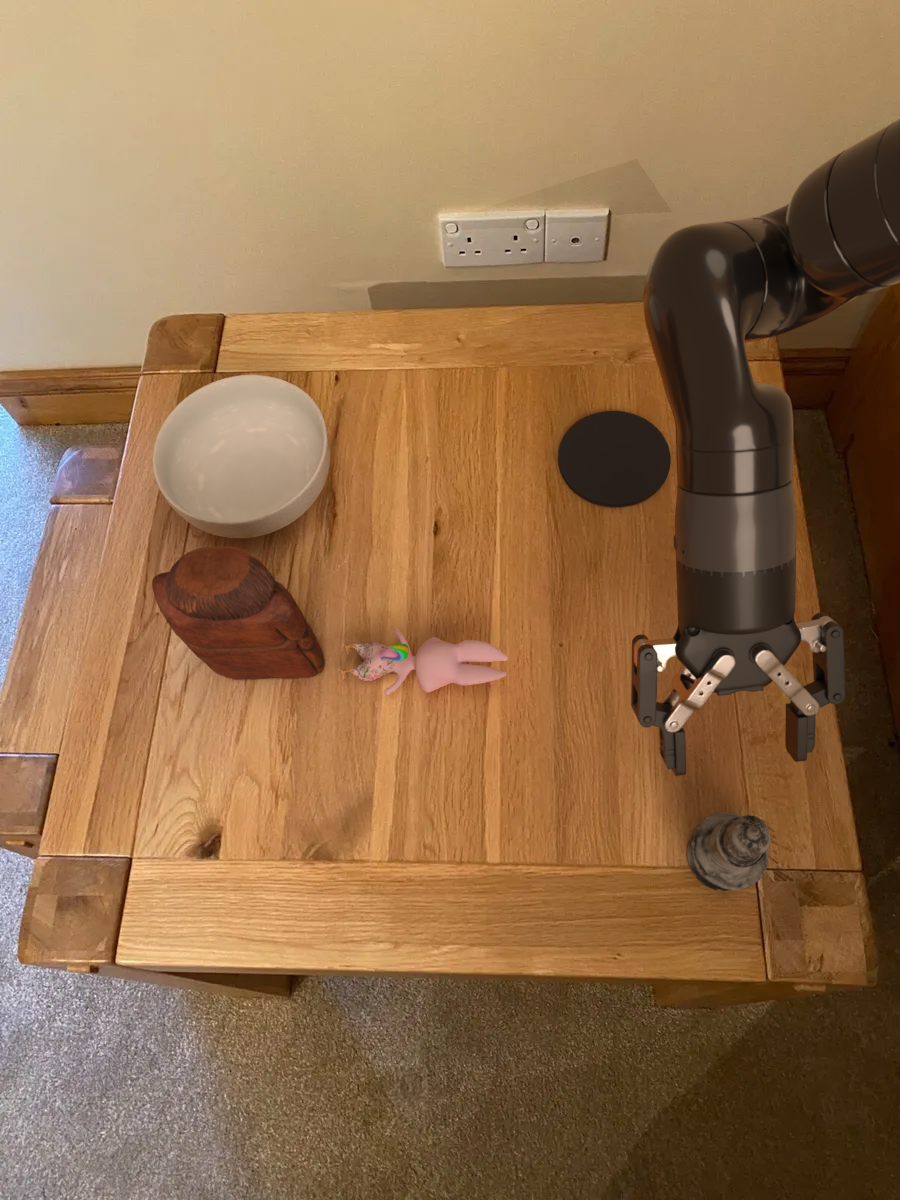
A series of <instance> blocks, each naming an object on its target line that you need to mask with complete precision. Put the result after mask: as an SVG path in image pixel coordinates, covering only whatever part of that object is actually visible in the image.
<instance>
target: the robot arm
mask: <svg viewBox="0 0 900 1200" xmlns="http://www.w3.org/2000/svg"><path fill="white" fill-rule="evenodd" d="M899 283H900V118H899V119H897V120H895V121H894V122H892V123H890V124H888V125H887V126H885V127H882V128H881V129H879V130H878V131H876V132H874V133H872V134H870V135H869V136H867V137H865V138H863V139H861V140H860V141H858V142H856V143H855V144H852V145H851V146H849V147H848V148H846V149H844V150H842V151H841V152H839V153H837V154H836V155H834V156H832V157H831V158H829V159H828V160H826V161H825V162H823V163H822V164H820V165H819V166H818V167H816V168H815V169H813V171H811V172H810V173H809V174H808V175H807V176H805V178H804V179H803V180H801V182H799V185H798V186H797V188H796V189H795V191H794V192H793V194H792V196H791V198H790V200H789V203H788V204H785V205H783V206H780V207H779V208H777V209H774V210H772V211H768V212H767V213H764V214H761V215H758V216H755V217H747V218H738V219H730V220H729V219H728V220H723V221H713V222H706V223H705V222H704V223H703V222H702V223H697V224H696V223H695V224H692V225H691V224H690V225H688V226H684V227H682V228H679V229H678V230H675V231H673V233H671V234H669V236H667V237H666V238H665V239H664V240H663V241H662V242H661V244H660V245H659V246H658V248H657V249H656V251H655V253H654V255H653V257H652V259H651V261H650V263H649V266H648V270H647V273H646V277H645V280H644V287H643V297H642V298H643V300H642V301H643V307H642V308H643V316H644V324H645V327H646V332H647V336H648V339H649V342H650V345H651V349H652V352H653V356H654V358H655V362H656V365H657V369H658V371H659V375H660V378H661V383H662V385H663V389H664V393H665V396H666V398H667V401H668V404H669V407H670V409H671V413H672V416H673V419H674V424H675V448H676V449H675V450H676V452H675V453H676V481H677V486H676V500H675V510H674V533H673V534H674V535H673V549H674V551H675V568H676V569H675V570H676V572H675V573H676V575H675V577H676V601H677V602H676V603H677V605H676V606H677V627H676V631H675V633H674V635H673V637H672V638H661V639H650V638H649V637H648V636H647V635H646V634H637V635H635V636H634V637H633V638H632V640H631V665H630V666H631V672H630V673H631V675H630V677H631V678H630V707H631V709H632V711H633V713H634V715H635V717H636V719H637V722H638V723H639V725H640V726H641V727H643V728H650V727H657V728H658V738H659V739H658V740H659V754H660V757H661V758H662V761H663V762H664V765H665V766H666V768H667V770H672V772H673V774H674V776H675V777H680V776H686V775H687V754H686V753H687V750H686V749H687V748H686V731H685V729H684V728H683V727H684V725H685V723H686V722H687V721H688V720H689V718H690V717H691V716H692V715H693V713H694V712H695V711H699V710H701V708H702V707H703V706H704V704H705V703H706V702H707V700H708V699H709V698H710V697H711V695H712V694H713V693H716V694H717V696H718V697H722V696H730V695H732V694H735V693H737V692H741V691H744V692H750V693H751V692H752V693H753V692H761V691H762V692H763V691H764V690H765V687H767V686H768V685H770V684H771V683H774V684H775V685H776V686H777V688H779V689H780V690H781V691H782V692H783V693H784V695H786V697H787V698H788V699H789V700H790V703H785V728H784V729H785V732H784V734H785V736H784V737H785V738H784V740H785V741H784V742H785V743H784V744H785V745H784V746H785V749H786V752H787V753H788V755H789V756H790V757H791V759H792V760H793V761H794V762H795V763H798V762H806V761H808V754H809V753H812V752H813V751H814V748H815V746H816V714H817V713H818V712H819V710H820V709H821V708H823V707H825V706H827V705H829V704H831V705H835V706H838V705H841V704H842V703H843V702H844V701H845V700H846V697H847V692H846V691H847V690H846V687H847V686H846V659H845V657H846V656H845V630H844V628H843V627H842V626H841V625H840V624H839V623H838V622H836V620H834V619H833V618H832V617H831V616H829V615H828V614H826V613H825V612H817V613H815V614H814V615H812V617H811V620H807V621H806V620H805V621H800V622H796V620H795V613H796V592H797V591H796V589H797V588H796V587H797V585H796V583H797V581H796V580H797V505H796V499H795V491H794V480H793V477H794V415H793V414H794V413H793V405H792V400H791V398H790V396H789V395H788V393H787V392H786V391H785V390H784V389H783V388H781V387H779V386H777V385H775V384H770V383H767V382H762V381H761V382H760V381H759V382H758V381H755V379H754V376H753V373H752V371H751V367H750V364H749V360H748V356H747V350H746V344H747V343H752V342H756V341H761V340H767V339H770V338H773V337H776V336H779V335H780V336H781V335H784V334H786V333H788V332H790V331H793V330H796V329H798V328H801V327H803V326H805V325H808V324H810V323H812V322H814V321H817V320H818V319H821V318H823V317H824V316H826V315H828V314H830V313H831V312H834V311H835V310H838V309H840V308H841V307H843V306H845V305H847V304H849V303H850V302H852V301H853V300H855V299H856V298H858V297H860V296H863V295H867V294H870V293H874V292H877V291H880V290H883V289H886V288H889V287H891V286H893V285H897V284H899ZM802 641H803V642H804V644H805V646H806V647H807V648H809V650H810V651H811V652H812V653H811V654H812V673H813V674H812V675H813V681H812V682H809V683H807V684H805V685H802V684H801V682H800V681H799V680H798V679H797V678H796V677H795V676H794V675H793V674H792V673H791V671H790V670H789V669H787V667H786V666H785V665H786V664H787V662H788V661H789V660H790V659H791V657H792V656H793V654H794V653H795V652H796V650H797V649H798V648H799V646H800V644H801V642H802ZM673 657H676V659H677V660H678V661H679V662H680V663H681V664H682V666H681V667H680V668H679V670H678V671H677V672H676V673H675V676H674V677H673V678H672V680H671V685H670V688H669V689H668V690H667V692H666V693H665V694H664V696H663V697H662V699H661V700H660V702H658V700H657V699H658V673H662V672H663V671H664V670H665V669H666V667H667V663H668V661H669V660H670V659H671V658H673Z"/></svg>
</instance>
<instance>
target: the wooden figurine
mask: <svg viewBox="0 0 900 1200" xmlns="http://www.w3.org/2000/svg"><path fill="white" fill-rule="evenodd" d="M151 586H152V591H153V596H154V599H155V602H156V605H157V606H158V609H159V611H160V612H161V614H162V615H163V618H164V620H165V621H166V622H167V624H168V625H169V627H170V628H171V630H172V631H173V633H174V634H175V635H176V636H177V637H178V638H179V639H180V640H181V641H182V642H183V643H184V644H185V645H186V647H187V648H188V649H189V650H190V651H191V652H192V653H193V654H194V655H195V656H196V657H197V658H198V659H199V660H201V661H202V662H203V663H204V664H205V665H206V666H207V667H208V668H209V669H211V670H212V671H213V672H214V673H216V674H218V675H220V676H223V677H225V678H228V679H231V680H238V681H245V680H247V681H248V680H249V681H250V680H251V681H252V680H268V679H271V680H272V679H286V680H290V679H303V678H304V679H305V678H313V677H315V676H318V674H320V673H321V672H323V671H324V669H325V665H326V659H325V655H324V651H323V649H322V647H321V645H320V643H319V640H318V639H317V636H316V635H315V633H314V631H313V629H312V628H311V626H310V624H309V623H308V621H307V620H306V618H305V616H304V613H303V612H302V610H301V609H300V607H299V605H298V603H297V601H296V600H295V599H294V597H293V595H292V593H290V591H289V590H288V589H287V588H286V587H285V586H284V585H283V584H282V583H281V582H280V581H278V580H276V579H275V577H274V576H273V574H272V572H270V571H269V569H268V568H267V566H266V565H265V564H264V563H263V562H262V560H261V559H260V558H259V557H257V556H253V554H251V553H250V552H248V551H247V550H245V549H243V548H239V547H235V546H230V545H228V546H224V545H223V546H222V545H221V546H203V547H199V548H195V549H192V550H190V551H188V552H186V553H184V554H183V555H181V556H180V557H179V559H178V560H176V562H175V563H174V564H173V565H172V566H171V568H170V570H169V571H165V572H161V573H158V574H156V575H155V576H153V578H152V582H151Z"/></svg>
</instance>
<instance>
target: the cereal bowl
mask: <svg viewBox="0 0 900 1200" xmlns="http://www.w3.org/2000/svg"><path fill="white" fill-rule="evenodd" d="M331 454H332V453H331V441H330V437H329V432H328V427H327V423H326V419H325V418H324V415H323V413H322V411H321V409H320V407H319V406H318V404H317V403H316V401H315V400H314V399H313V398H312V397H311V396H310V395H309V394H308V393H307V392H306V391H305V390H303V389H302V388H300V387H299V386H297V385H295V384H294V383H291V382H289V381H286V380H284V379H281V378H278V377H275V376H269V375H263V374H241V375H233V376H229V377H224V378H220V379H218V380H214V381H213V382H210V383H208V384H206V385H204V386H202V387H200V388H198V389H196V390H195V391H192V393H190V394H189V395H187V396H186V397H185V398H184V399H182V400H181V401H180V402H179V403H178V404H177V405H176V406H175V407H174V408H173V409H172V410H171V412H170V413H169V414H168V416H167V417H166V418H165V420H164V421H163V423H162V424H161V426H160V428H159V430H158V432H157V435H156V438H155V441H154V445H153V449H152V471H153V476H154V479H155V481H156V485H157V487H158V489H159V491H160V493H161V494H162V495H163V497H164V499H165V500H166V501H167V503H168V505H169V506H170V507H171V508H172V509H173V511H174V512H175V513H177V515H178V516H179V517H181V518H182V519H183V520H184V521H186V522H187V523H188V524H190V525H191V526H193V527H195V528H197V529H199V530H201V531H203V532H204V533H208V534H211V535H214V536H219V537H221V538H222V537H223V538H231V539H249V538H257V537H261V536H264V535H269V534H271V533H273V532H277V531H278V530H282V529H283V528H285V527H287V526H289V525H290V524H291V523H294V522H295V521H296V520H297V519H299V518H300V517H301V516H302V515H303V514H305V513H306V511H309V509H310V508H311V506H312V505H313V504H314V503H315V501H316V500H317V499H318V498H319V496H320V494H321V492H322V490H323V489H324V487H325V485H326V482H327V479H328V475H329V471H330V467H331Z"/></svg>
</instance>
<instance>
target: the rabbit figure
mask: <svg viewBox="0 0 900 1200" xmlns="http://www.w3.org/2000/svg"><path fill="white" fill-rule="evenodd" d="M393 635H394V636H395V637H396V638H397V639H398V640H399V642H400V643H394V644H391V645H389V646H388V647H387V646H386V645H384V644H382V643H381V642H377V641H374V642H362V643H356V642H353V643H351V644H345V643H342V645H343V647H344V648H343V649H345V651H346V653H347V654H346V656H349V654H350V652H351V651H352V649H351V648H353V649H354V650H356V652H357V653H358V655H359V656H360V658H361V660H363V662H362V663H360V664H358V665H356V666H354V667H353V668H352V667H351V668H349V669H341V668H337V670H338V671H339V674H340V675H341V678H342V681H343V680H345V679H346V678H347V676H348V675H347V673H349V674H352V675H353V676H354V677H356V678H358V679H359V680H361V681H364V682H372V681H376V680H378V679H380V678H382V677H383V676H385V675H387V674H389V673H394V674H396V679H395V681H394V682H393V684H392V685H390V686H389V687H386V689H385V690H384V695H386V696H389V695H392V693H394V692H395V691H396V690H397V689H398V688H399V687H401V685H402V684H403V683H404V681H405V680H406V678H407V677H408V676H409V674H410V672H412V671H415V673H416V679H417V682H418V685H419V686H420V688H421V689H422V690H423V691H424V692H425V693H432V692H433V691H436V690H439V689H441V688H443V687H445V686H447V685H450V684H456V685H458V686H463V687H464V686H472V685H479V684H485V683H489V682H492V681H493V682H494V681H497V680H500V679H503V678H505V677H506V676H507V672H506V671H503V670H499V669H497V668H495V667H491V666H488V665H480V664H471V663H493V662H494V663H495V662H506V661H508V659H509V657H508V655H506V654H505V653H504V652H503V651H502V650H500V649H499V648H498V647H496V646H494V645H493V644H491V643H489V642H486V641H482V640H477V639H466V640H462V641H460V642H459V643H451V642H447V641H444V640H443V639H440V638H438V637H436V636H433V637H430V638H429V639H427V640H426V641H425V642H424V643H423V644H422V645H421V646H420V647H419V648H418V650H417V652H416V654H415V655H413V653H412V650H411V647H410V644H409V642H408V640H407V638H406V637H405V635H404V634H403V633H402V631H400V629H398V628H396V629H394V630H393Z"/></svg>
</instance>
